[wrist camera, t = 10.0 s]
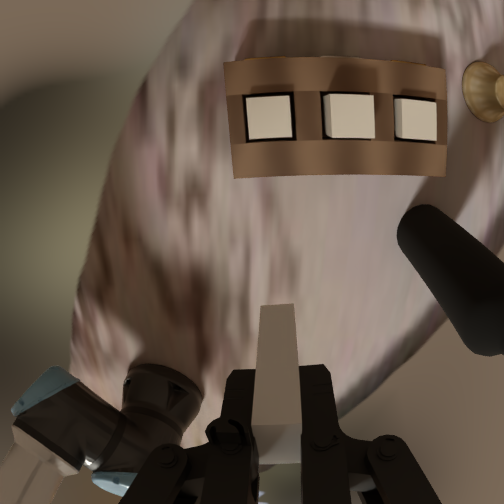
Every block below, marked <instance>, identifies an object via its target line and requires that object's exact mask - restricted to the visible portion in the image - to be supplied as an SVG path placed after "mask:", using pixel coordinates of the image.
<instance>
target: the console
mask: <svg viewBox="0 0 504 504" xmlns="http://www.w3.org/2000/svg"><path fill="white" fill-rule="evenodd" d="M223 64H224V76H225V87H226V99H227V110H228V121H229V132H230V143H231V154H232V165H233V175H234V179H236V178H252V177H271V176H295V175H344V174H367V175H415V176H438V177H446V161H447V90H446V74H445V69H441V68H435V67H430V66H426V64H419V63H412V62H405V61H397V60H391V61H385V60H374V59H360V57H350V56H320V57H287V58H286V57H285V56H277V57H261V58H248V59H245V60H242V61H232V62H224V63H223ZM328 94H353V95H373V96H374V120H375V138H332V137H330V136H328V135H326V134H324V113H323V96H326V95H328ZM270 96H289V99H290V113H291V129H292V137H277V138H259V139H249V129H248V116H247V104H246V98H255V97H270ZM393 99H410V100H419V101H427V102H435V103H436V113H437V141H433V140H422V139H408V138H400V137H396V136H394V109H393Z"/></svg>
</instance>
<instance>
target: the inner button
mask: <svg viewBox="0 0 504 504" xmlns="http://www.w3.org/2000/svg"><path fill="white" fill-rule="evenodd" d="M246 104H247V116H248V129H249V139H259V138H277V137H292V129H291V113H290V99H289V96H270V97H255V98H246Z"/></svg>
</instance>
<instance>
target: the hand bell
mask: <svg viewBox="0 0 504 504" xmlns="http://www.w3.org/2000/svg"><path fill="white" fill-rule="evenodd" d="M462 90H463V95H464V99H465V101H466V104H467V106H468V108H469V109H470V111H471V112H472V113H473V114H474V115H475V116H476V117H477V118H478V119H480V120H482V121H484V122H489V123H490V122H495V121H498V120H499V119H500V118H502V116H503V115H504V75H501V74H500V73H499V72H498V71H497V70H496V69H495V68H494V67H492V66H491V65H489V64H487V63H484V62H474V63H472V64H471V65H469V66H468V67H467V69H466V70H465V72H464V75H463V79H462Z"/></svg>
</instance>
